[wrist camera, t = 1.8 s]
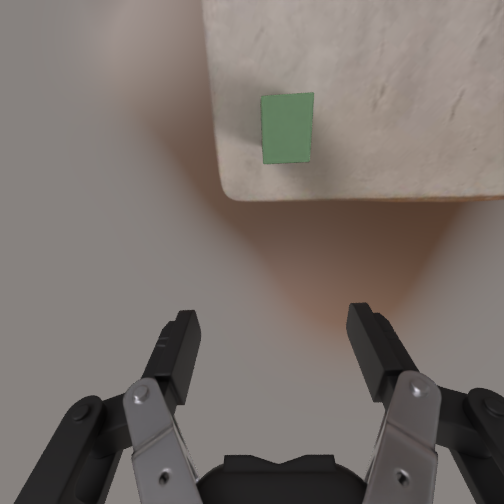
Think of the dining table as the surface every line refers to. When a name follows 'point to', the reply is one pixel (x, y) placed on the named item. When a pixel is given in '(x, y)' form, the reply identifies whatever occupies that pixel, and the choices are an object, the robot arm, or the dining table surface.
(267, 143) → the green bar
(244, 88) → the dining table surface
